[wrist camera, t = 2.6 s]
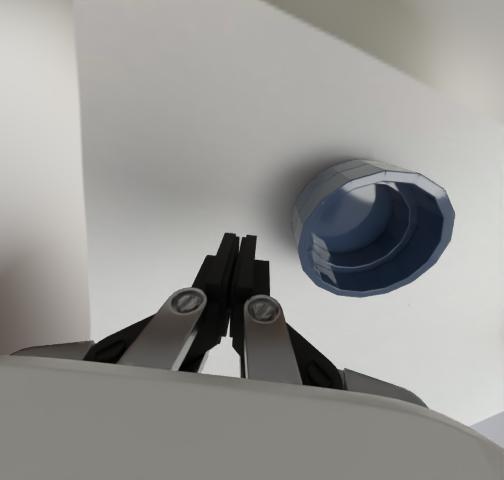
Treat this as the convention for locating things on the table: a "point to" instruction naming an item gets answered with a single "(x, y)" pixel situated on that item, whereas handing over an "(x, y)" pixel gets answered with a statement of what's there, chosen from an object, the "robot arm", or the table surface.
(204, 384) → the robot arm
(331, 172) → the bowl
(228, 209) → the table surface
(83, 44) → the table surface
